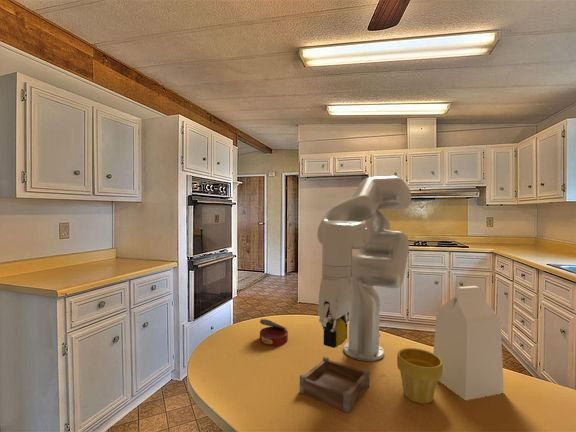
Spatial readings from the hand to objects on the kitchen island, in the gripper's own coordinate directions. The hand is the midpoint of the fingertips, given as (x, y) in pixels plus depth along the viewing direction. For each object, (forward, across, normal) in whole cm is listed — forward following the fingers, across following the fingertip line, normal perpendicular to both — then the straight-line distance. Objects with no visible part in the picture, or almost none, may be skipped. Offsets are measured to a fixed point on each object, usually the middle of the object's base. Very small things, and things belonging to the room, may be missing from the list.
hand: (335, 341), depth 79 cm
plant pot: (+13, -10, +18) cm, 24 cm away
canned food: (+13, -14, -31) cm, 36 cm away
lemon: (+2, 0, 0) cm, 2 cm away
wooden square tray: (+12, 0, 0) cm, 12 cm away
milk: (+13, -23, +27) cm, 38 cm away
